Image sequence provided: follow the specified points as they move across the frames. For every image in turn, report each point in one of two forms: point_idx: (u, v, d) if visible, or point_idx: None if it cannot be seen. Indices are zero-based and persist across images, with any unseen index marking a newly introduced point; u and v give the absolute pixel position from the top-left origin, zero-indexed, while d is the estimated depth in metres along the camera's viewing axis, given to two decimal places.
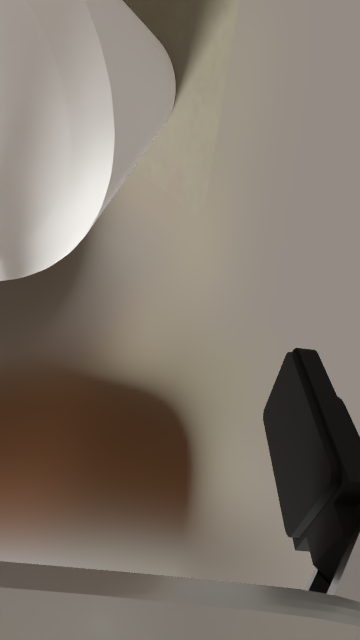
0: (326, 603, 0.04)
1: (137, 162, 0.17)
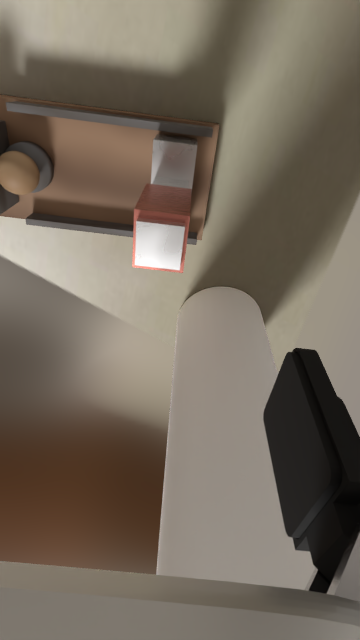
0: (325, 603, 0.04)
1: None
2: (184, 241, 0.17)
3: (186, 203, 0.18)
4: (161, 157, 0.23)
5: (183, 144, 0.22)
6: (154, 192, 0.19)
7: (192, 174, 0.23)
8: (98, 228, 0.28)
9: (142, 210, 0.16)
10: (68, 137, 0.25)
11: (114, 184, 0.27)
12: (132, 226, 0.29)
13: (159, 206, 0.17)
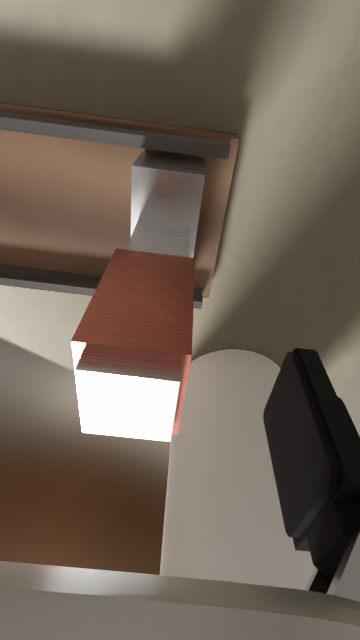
0: (325, 603, 0.04)
1: None
2: (179, 393, 0.09)
3: (184, 306, 0.09)
4: (145, 193, 0.14)
5: (182, 173, 0.13)
6: (126, 274, 0.10)
7: (196, 219, 0.15)
8: (59, 285, 0.19)
9: (89, 343, 0.08)
10: (6, 156, 0.17)
11: (81, 223, 0.18)
12: None
13: (129, 323, 0.08)
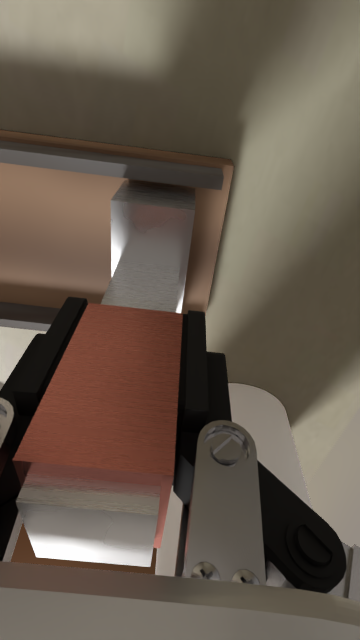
0: (325, 603, 0.04)
1: None
2: (160, 511, 0.07)
3: (167, 390, 0.07)
4: (127, 230, 0.12)
5: (168, 208, 0.12)
6: (97, 343, 0.08)
7: (186, 258, 0.13)
8: (36, 323, 0.17)
9: (37, 461, 0.06)
10: None
11: (59, 256, 0.17)
12: None
13: (94, 423, 0.06)
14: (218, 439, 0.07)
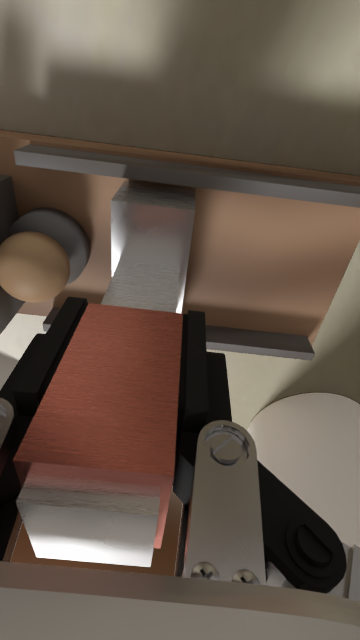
0: (325, 603, 0.04)
1: None
2: (161, 511, 0.07)
3: (168, 390, 0.07)
4: (127, 230, 0.12)
5: (168, 209, 0.12)
6: (97, 343, 0.08)
7: (186, 258, 0.13)
8: None
9: (38, 461, 0.06)
10: None
11: (187, 271, 0.17)
12: (209, 329, 0.18)
13: (94, 423, 0.06)
14: (218, 439, 0.07)
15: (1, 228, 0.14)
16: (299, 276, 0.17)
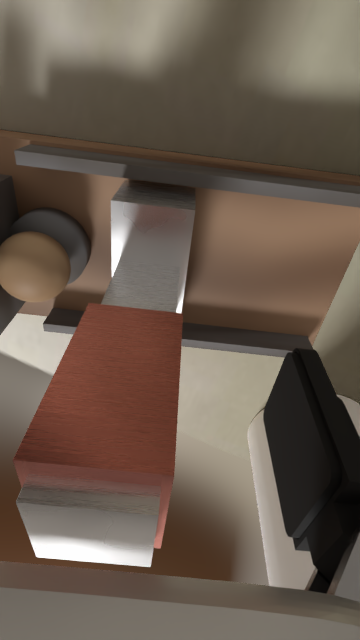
0: (326, 603, 0.04)
1: None
2: (161, 511, 0.07)
3: (168, 390, 0.07)
4: (127, 230, 0.12)
5: (168, 208, 0.12)
6: (97, 343, 0.08)
7: (186, 258, 0.13)
8: None
9: (38, 461, 0.06)
10: None
11: (188, 271, 0.17)
12: (209, 329, 0.18)
13: (94, 423, 0.06)
14: None
15: (2, 228, 0.14)
16: (300, 276, 0.17)
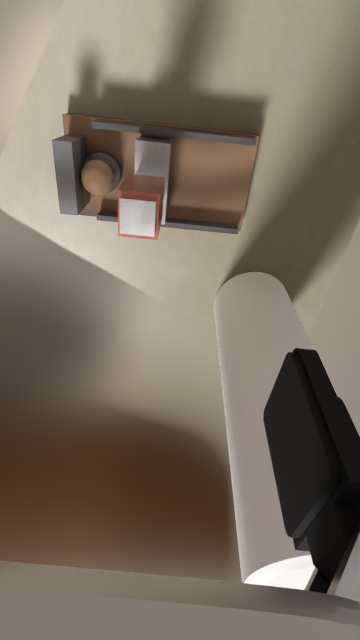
0: (325, 603, 0.04)
1: None
2: (156, 214, 0.23)
3: (158, 186, 0.24)
4: (141, 154, 0.29)
5: (159, 143, 0.28)
6: (134, 179, 0.25)
7: (167, 167, 0.29)
8: None
9: (124, 190, 0.22)
10: None
11: (170, 185, 0.33)
12: (183, 220, 0.35)
13: (137, 188, 0.23)
14: None
15: (82, 159, 0.30)
16: (227, 186, 0.33)
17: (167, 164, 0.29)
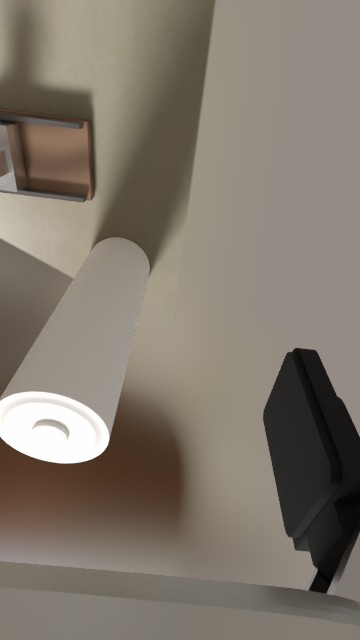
0: (326, 603, 0.04)
1: None
2: None
3: None
4: None
5: None
6: None
7: (8, 144, 0.37)
8: None
9: None
10: None
11: (26, 161, 0.41)
12: (41, 190, 0.43)
13: None
14: None
15: None
16: (71, 163, 0.41)
17: (7, 142, 0.37)
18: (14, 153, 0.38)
